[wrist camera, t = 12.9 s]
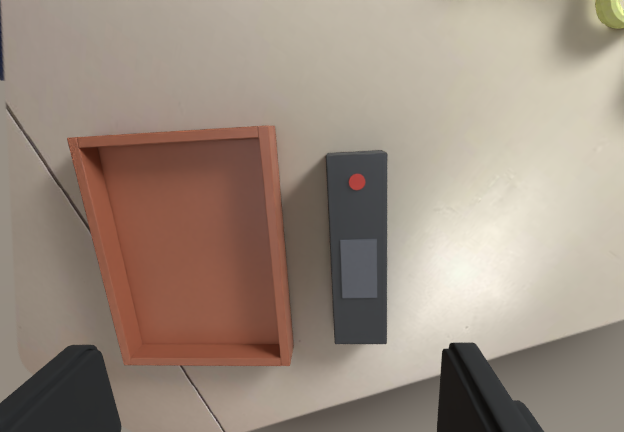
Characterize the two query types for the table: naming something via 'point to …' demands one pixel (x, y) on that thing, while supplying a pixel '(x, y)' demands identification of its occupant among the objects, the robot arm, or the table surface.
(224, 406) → the table surface
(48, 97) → the table surface
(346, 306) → the tv remote
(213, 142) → the tray
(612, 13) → the key
